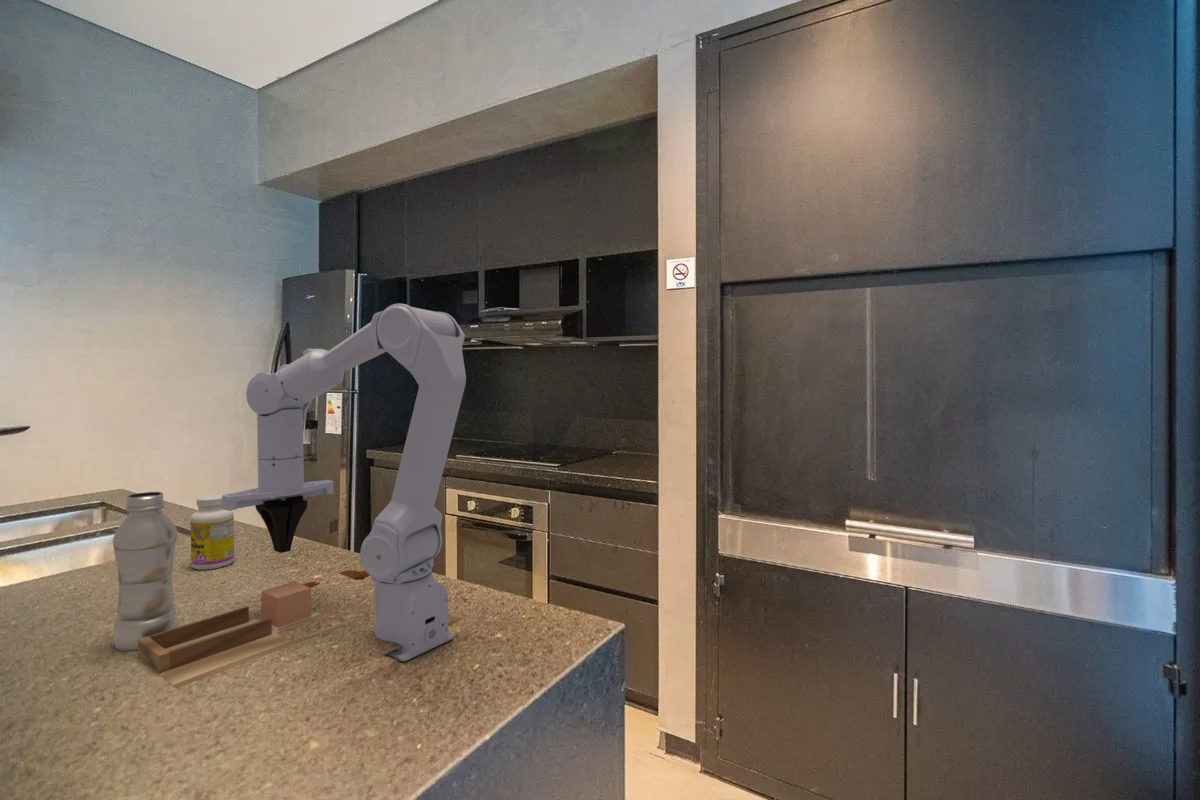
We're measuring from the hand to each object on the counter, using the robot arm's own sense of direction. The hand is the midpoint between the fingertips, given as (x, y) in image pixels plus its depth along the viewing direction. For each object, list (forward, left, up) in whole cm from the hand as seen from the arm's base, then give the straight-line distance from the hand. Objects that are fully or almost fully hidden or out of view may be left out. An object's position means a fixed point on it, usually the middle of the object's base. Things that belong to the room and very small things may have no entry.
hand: (282, 550), depth 81 cm
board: (-7, +8, -10) cm, 14 cm away
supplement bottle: (+35, -4, -10) cm, 37 cm away
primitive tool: (+7, -9, -11) cm, 16 cm away
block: (-4, +1, -8) cm, 9 cm away
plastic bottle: (+4, +15, -10) cm, 18 cm away
